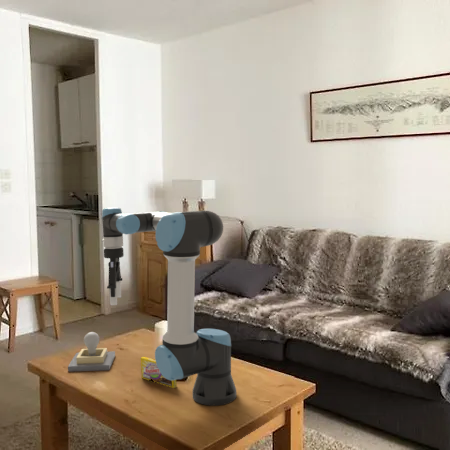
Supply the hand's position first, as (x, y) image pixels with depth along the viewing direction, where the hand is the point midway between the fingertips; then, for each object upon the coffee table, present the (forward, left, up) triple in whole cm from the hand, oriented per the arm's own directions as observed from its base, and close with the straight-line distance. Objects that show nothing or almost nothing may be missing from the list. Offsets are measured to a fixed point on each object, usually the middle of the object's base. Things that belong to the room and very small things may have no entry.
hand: (115, 301), depth 205 cm
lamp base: (+6, +11, -27) cm, 30 cm away
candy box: (-16, -17, -27) cm, 36 cm away
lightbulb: (+6, +11, -25) cm, 28 cm away
